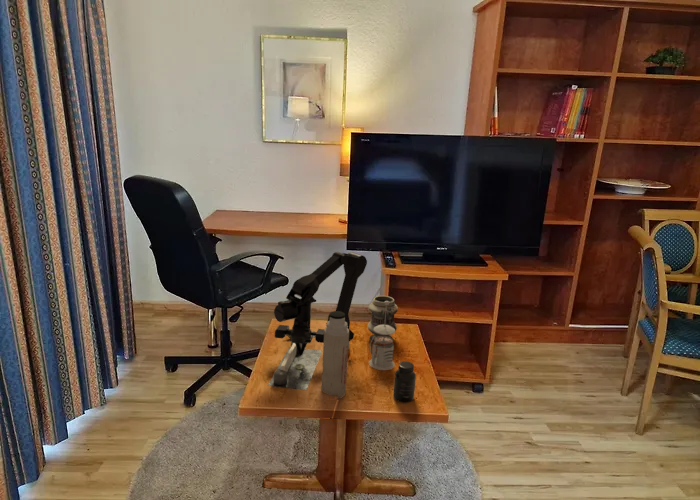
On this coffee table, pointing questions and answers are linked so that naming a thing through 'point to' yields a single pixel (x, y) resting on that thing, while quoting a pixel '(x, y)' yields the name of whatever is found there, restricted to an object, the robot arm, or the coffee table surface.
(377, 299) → the apothecary jar
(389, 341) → the french press
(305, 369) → the plate
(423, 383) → the coffee table surface
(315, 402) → the coffee table surface
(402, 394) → the supplement bottle
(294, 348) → the knob
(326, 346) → the thermos bottle
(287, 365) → the knob
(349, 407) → the coffee table surface
